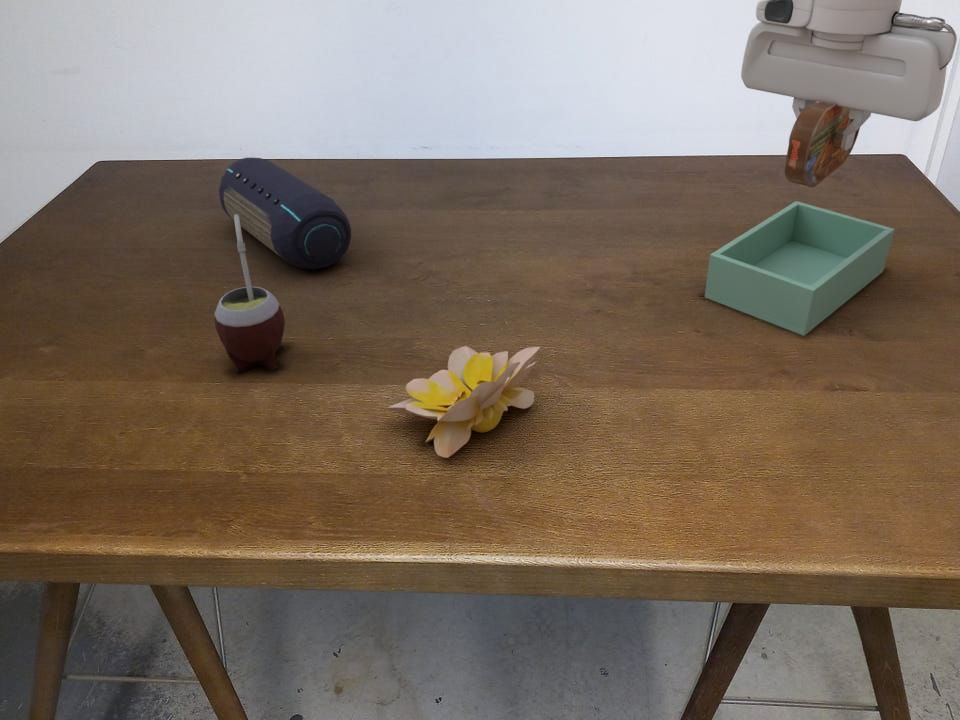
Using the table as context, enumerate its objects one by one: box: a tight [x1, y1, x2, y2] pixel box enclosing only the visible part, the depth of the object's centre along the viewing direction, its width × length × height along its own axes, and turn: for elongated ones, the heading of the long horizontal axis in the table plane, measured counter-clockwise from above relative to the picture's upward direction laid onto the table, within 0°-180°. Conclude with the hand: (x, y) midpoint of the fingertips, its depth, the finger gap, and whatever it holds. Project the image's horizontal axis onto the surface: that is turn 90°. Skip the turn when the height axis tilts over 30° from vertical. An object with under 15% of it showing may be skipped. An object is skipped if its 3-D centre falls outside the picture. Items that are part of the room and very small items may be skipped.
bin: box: [704, 200, 895, 336], centre depth 96 cm, size 20×13×6 cm, turn 134°
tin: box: [784, 101, 861, 189], centre depth 88 cm, size 15×3×8 cm, turn 139°
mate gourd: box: [214, 214, 286, 375], centre depth 86 cm, size 8×8×15 cm
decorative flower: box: [383, 345, 541, 458], centre depth 77 cm, size 15×11×10 cm
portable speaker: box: [218, 157, 352, 270], centre depth 110 cm, size 25×10×10 cm, turn 37°
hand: (823, 143), depth 88 cm, fingers closed on tin, 2 cm apart
